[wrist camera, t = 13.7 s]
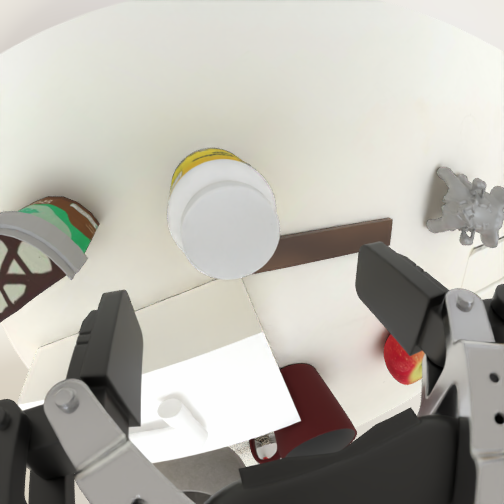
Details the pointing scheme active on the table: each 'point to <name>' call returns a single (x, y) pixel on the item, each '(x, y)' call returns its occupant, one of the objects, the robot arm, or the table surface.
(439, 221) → the elephant statuette
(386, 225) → the plank
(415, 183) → the table surface
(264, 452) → the toy figure
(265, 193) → the pill bottle
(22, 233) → the food container
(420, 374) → the apple
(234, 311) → the tissue box
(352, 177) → the table surface
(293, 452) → the mug
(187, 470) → the planter
